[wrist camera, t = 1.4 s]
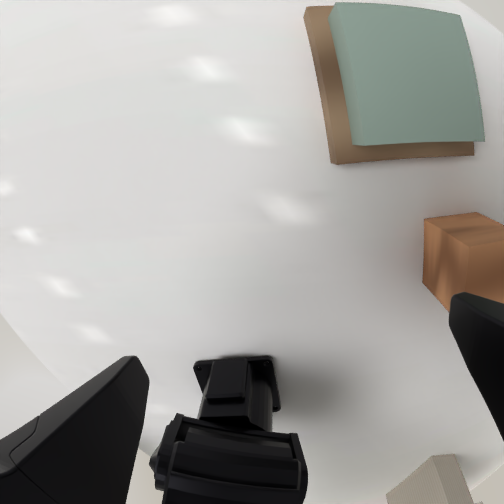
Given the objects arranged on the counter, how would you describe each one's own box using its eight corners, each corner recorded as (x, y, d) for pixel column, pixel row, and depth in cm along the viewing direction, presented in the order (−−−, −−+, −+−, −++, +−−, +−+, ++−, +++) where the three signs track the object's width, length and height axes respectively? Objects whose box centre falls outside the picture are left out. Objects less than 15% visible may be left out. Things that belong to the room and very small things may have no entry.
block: (471, 271, 21) (512, 306, 15) (422, 282, 21) (458, 323, 16) (476, 211, 19) (525, 236, 13) (423, 218, 20) (468, 247, 14)
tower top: (463, 139, 16) (484, 141, 13) (352, 144, 17) (365, 145, 14) (441, 25, 13) (460, 15, 11) (327, 18, 14) (335, 2, 12)
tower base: (455, 152, 18) (474, 155, 16) (328, 161, 19) (337, 164, 17) (432, 24, 15) (448, 15, 13) (302, 20, 16) (306, 6, 14)
